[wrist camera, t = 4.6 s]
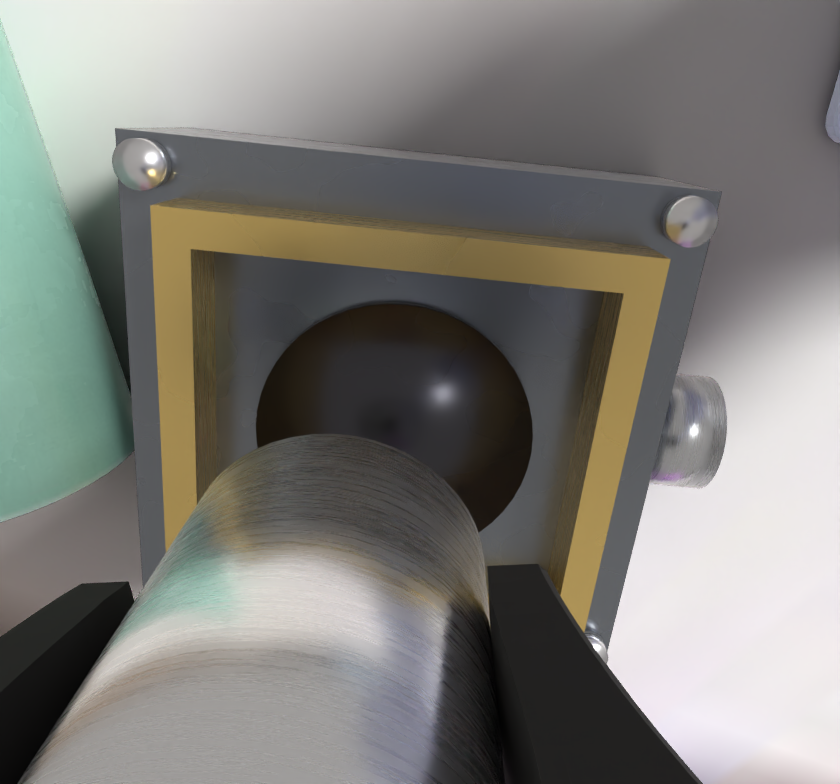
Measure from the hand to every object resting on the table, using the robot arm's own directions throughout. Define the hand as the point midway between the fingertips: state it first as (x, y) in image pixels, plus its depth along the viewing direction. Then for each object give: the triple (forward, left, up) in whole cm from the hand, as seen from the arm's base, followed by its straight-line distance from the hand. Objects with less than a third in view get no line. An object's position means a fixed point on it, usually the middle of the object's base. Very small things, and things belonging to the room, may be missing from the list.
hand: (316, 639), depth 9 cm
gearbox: (-1, -1, -9) cm, 9 cm away
